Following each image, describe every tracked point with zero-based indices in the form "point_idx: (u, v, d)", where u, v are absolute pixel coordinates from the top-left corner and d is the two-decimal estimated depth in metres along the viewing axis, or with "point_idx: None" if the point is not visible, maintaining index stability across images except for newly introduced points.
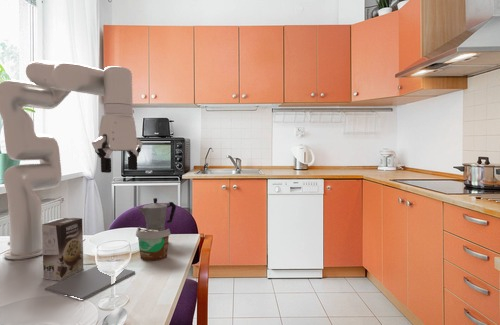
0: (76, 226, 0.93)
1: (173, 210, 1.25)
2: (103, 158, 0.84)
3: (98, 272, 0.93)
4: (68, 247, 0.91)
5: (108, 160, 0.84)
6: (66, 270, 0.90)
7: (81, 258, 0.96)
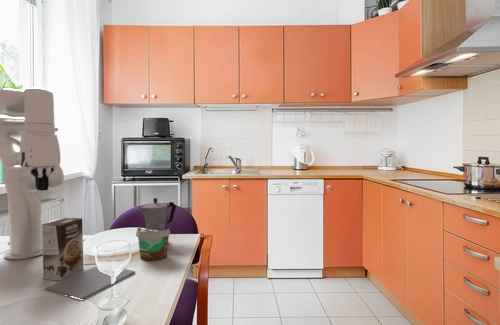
0: (76, 226, 0.93)
1: (173, 210, 1.25)
2: (37, 177, 0.93)
3: (98, 272, 0.93)
4: (68, 247, 0.91)
5: (42, 179, 0.94)
6: (66, 270, 0.90)
7: (81, 258, 0.96)
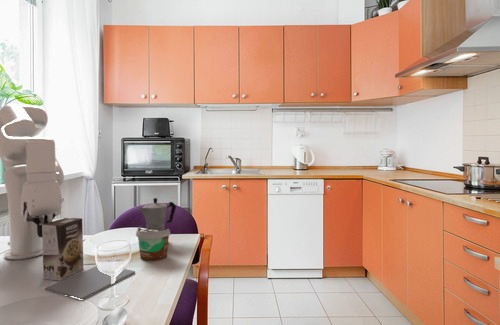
0: (76, 226, 0.93)
1: (173, 210, 1.25)
2: (39, 225, 0.94)
3: (98, 272, 0.93)
4: (68, 247, 0.91)
5: None
6: (66, 270, 0.90)
7: (81, 258, 0.96)
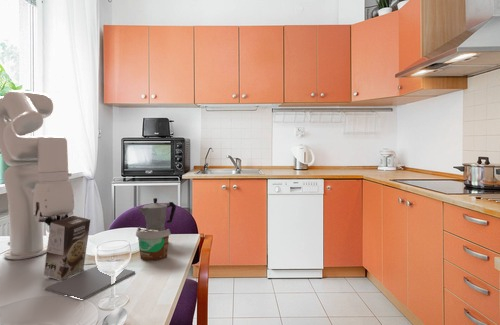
0: (83, 227, 0.93)
1: (173, 210, 1.25)
2: None
3: (98, 272, 0.93)
4: (73, 248, 0.90)
5: None
6: (67, 270, 0.90)
7: (83, 258, 0.96)
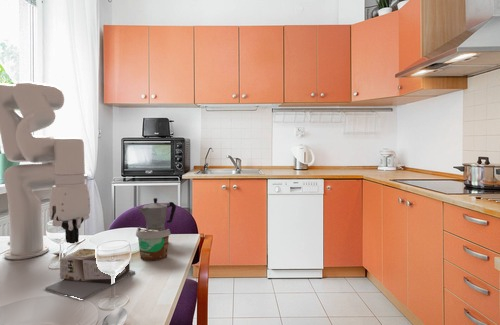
0: None
1: (173, 210, 1.25)
2: (67, 230, 0.89)
3: None
4: None
5: (72, 232, 0.89)
6: None
7: None
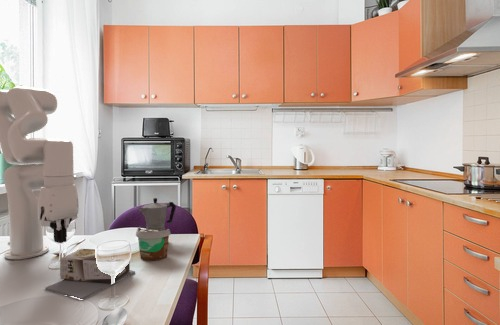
0: None
1: (173, 210, 1.25)
2: (55, 230, 0.92)
3: None
4: None
5: (60, 232, 0.92)
6: None
7: None
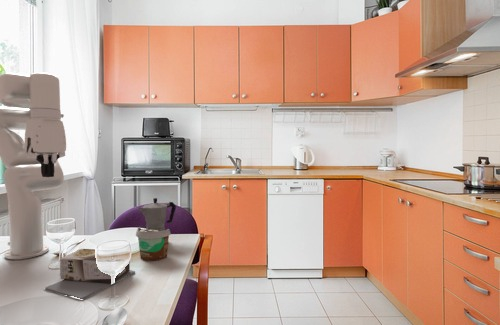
0: None
1: (173, 210, 1.25)
2: (43, 164, 0.92)
3: None
4: None
5: (48, 166, 0.92)
6: None
7: None
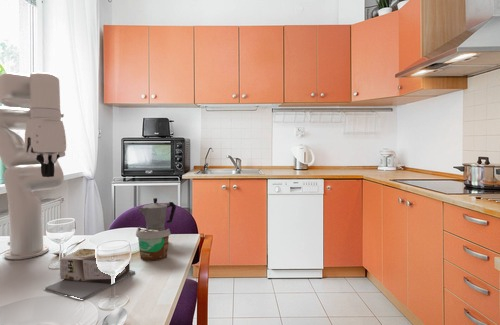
0: None
1: (173, 210, 1.25)
2: (43, 164, 0.92)
3: None
4: None
5: (48, 166, 0.92)
6: None
7: None
